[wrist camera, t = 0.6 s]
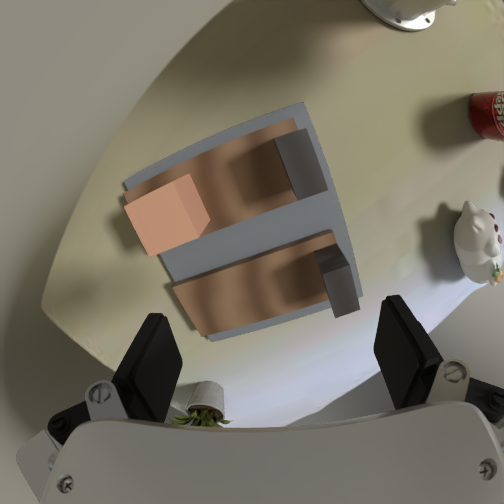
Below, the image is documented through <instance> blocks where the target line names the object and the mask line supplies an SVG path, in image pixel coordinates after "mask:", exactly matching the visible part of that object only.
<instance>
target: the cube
mask: <svg viewBox="0 0 504 504" xmlns="http://www.w3.org/2000/svg"><path fill="white" fill-rule="evenodd" d="M124 208H125V210H126V212H127V214H128V216H129V218H130V221H131V223H132V225H133V227H134V229H135V231H136V232H137V234H138V236H139V238H140V240H141V242H142V244H143V246H144V248H145V250H146V252H147V254H148V255H149V257H152V256H155V255H157V254H160V253H162V252H164V251H167V250H169V249H172V248H174V247H177V246H179V245H182V244H184V243H187V242H189V241H192V240H194V239H197V238H199V237H200V235H201V234H202V232H203V230H204V229H205V227H206V226H207V224H208V223H209V221H210V218H209V216H208V214H207V211H206V209H205V207H204V205H203V203H202V200H201V198H200V196H199V194H198V192H197V189H196V187H195V185H194V183H193V180H192V178H191V176H190V174H187V175H184V176H182V177H180V178H178V179H176V180H174V181H172V182H170V183H168V184H166V185H164V186H162V187H160V188H158V189H156V190H154V191H152V192H150V193H148V194H146V195H144V196H142V197H140V198H138V199H137V200H135V201H133V202H131V203H129V204H127V205H126V206H124Z"/></svg>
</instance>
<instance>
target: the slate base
mask: <svg viewBox="0 0 504 504" xmlns="http://www.w3.org/2000/svg"><path fill="white" fill-rule="evenodd" d="M290 118H294V121H295V123H296V126H297V128H298V130H300V129H304V128H306V129H307V131H308V134H309V136H310V139H311V142H312V144H313V147H314V150H315V152H316V155H317V158H318V161H319V164H320V166H321V169H322V172H323V175H324V178H325V181H326V184H327V187H328V191H325V192H322V193H319V194H316V195H313V196H310V197H307V198H305V199H302V200H299V201H296V202H293V203H290V204H288V205H285V206H282V207H279V208H276V209H274V210H271V211H268V212H265V213H263V214H260V215H257V216H255V217H252V218H249V219H247V220H244V221H241V222H239V223H236V224H233V225H231V226H228V227H225V228H223V229H220V230H218V231H215V232H212V233H210V234H207V235H205V236H202V237H199V238H197V239H194V240H192V241H189V242H187V243H184V244H182V245H179V246H177V247H174V248H172V249H169V250H167V251H164V252H162V253H160V256H161V258H162V260H163V261H164V263H165V265H166V267H167V269H168V271H169V272H170V274H171V276H172V278H173V280H174V281H175V283H176V282H179V281H182V280H185V279H188V278H191V277H194V276H197V275H200V274H203V273H205V272H208V271H211V270H214V269H217V268H220V267H223V266H226V265H229V264H232V263H234V262H237V261H240V260H243V259H246V258H249V257H252V256H255V255H258V254H260V253H263V252H266V251H269V250H272V249H275V248H278V247H281V246H283V245H286V244H289V243H292V242H295V241H298V240H301V239H303V238H306V237H309V236H312V235H315V234H318V233H321V232H323V231H326V230H329V229H332V231H333V232H334V236H335V239H336V243H337V244H338V246H339V248H340V249H341V251H342V253H343V254H344V256H345V257H346V259H347V261H348V262H349V264H350V267H351V271H352V275H353V280H354V284H355V288H356V293H357V297H358V298H359V297H362V296H363V293H362V288H361V284H360V279H359V274H358V270H357V266H356V262H355V257H354V253H353V249H352V245H351V242H350V238H349V234H348V230H347V227H346V223H345V220H344V216H343V213H342V209H341V206H340V202H339V199H338V196H337V193H336V189H335V186H334V183H333V180H332V177H331V174H330V171H329V168H328V165H327V162H326V159H325V156H324V154H323V151H322V148H321V145H320V143H319V140H318V137H317V135H316V132H315V129H314V127H313V124H312V122H311V119H310V117H309V114H308V112H307V109H306V107H305V104H304V102H301V103H297V104H294V105H291V106H288V107H285V108H282V109H279V110H276V111H273V112H271V113H268V114H265V115H262V116H260V117H257V118H254V119H252V120H249V121H246V122H244V123H241V124H239V125H236V126H234V127H231V128H229V129H227V130H224V131H222V132H219V133H217V134H215V135H213V136H210V137H208V138H206V139H204V140H201V141H199V142H197V143H195V144H193V145H191V146H189V147H186V148H184V149H182V150H180V151H178V152H176V153H174V154H172V155H170V156H168V157H166V158H164V159H162V160H160V161H159V162H157V163H155V164H153V165H151V166H149V167H147V168H145V169H144V170H142V171H140V172H138V173H136V174H135V175H133V176H131V177H129V178H128V179H126V180H124V182H125V185H126V187H127V189H128V190H130V189H132V188H134V187H135V186H137V185H139V184H141V183H143V182H145V181H146V180H148V179H150V178H152V177H154V176H156V175H158V174H160V173H162V172H164V171H166V170H168V169H170V168H172V167H174V166H176V165H178V164H180V163H182V162H184V161H186V160H188V159H190V158H193V157H195V156H197V155H199V154H201V153H204V152H206V151H208V150H210V149H213V148H215V147H217V146H220V145H222V144H224V143H227V142H229V141H231V140H234V139H236V138H239V137H241V136H244V135H246V134H249V133H252V132H254V131H257V130H259V129H262V128H265V127H268V126H270V125H273V124H276V123H279V122H282V121H285V120H287V119H290ZM328 308H331V304H330V301H329V300H326V301H323V302H320V303H317V304H314V305H311V306H308V307H305V308H302V309H299V310H296V311H293V312H289V313H286V314H283V315H280V316H276V317H273V318H270V319H266V320H263V321H259V322H256V323H252V324H249V325H245V326H242V327H238V328H234V329H230V330H227V331H223V332H219V333H215V334H211V335H207V337H208V338H209V340H210V341H211V342H214V341H218V340H222V339H226V338H230V337H234V336H237V335H241V334H245V333H249V332H252V331H256V330H260V329H263V328H267V327H270V326H274V325H277V324H281V323H284V322H287V321H291V320H294V319H297V318H300V317H303V316H307V315H310V314H313V313H316V312H319V311H322V310H325V309H328Z"/></svg>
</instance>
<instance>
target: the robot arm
mask: <svg viewBox="0 0 504 504" xmlns="http://www.w3.org/2000/svg"><path fill="white" fill-rule="evenodd" d="M361 1H362V3H363V4H364V5H365V6H366V7H367V8H368V9H369V10H370V11H371V12H372V13H373V14H374V15H376V16H377V17H378V18H380V19H381V20H383V21H384V22H386V23H388V24H390V25H392V26H394V27H396V28H399V29H402V30H406V31H413V32H417V31H422V30H424V29H426V28H428V27H430V26H431V25H432V23H433V22H434V19H435V10H436V9H438V8H440V7H442V6H443V5H452V6H455V5H456V0H361ZM374 354H375V356H376V359H377V361H378V364H379V366H380V369H381V372H382V374H383V377H384V379H385V382H386V385H387V387H388V390H389V393H390V396H391V398H392V401H393V404H394V407H395V409H396V410H394V411H390V412H385V413H380V414H375V415H370V416H365V417H360V418H355V419H349V420H342V421H336V422H328V423H320V424H311V425H301V426H289V427H269V428H220V427H201V426H187V425H178V424H168V423H164V421H165V418H166V415H167V412H168V409H169V406H170V402H171V399H172V396H173V393H174V390H175V387H176V384H177V381H178V378H179V375H180V371H181V368H182V358H181V355H180V352H179V350H178V347H177V344H176V342H175V339H174V336H173V333H172V330H171V327H170V324H169V322H168V319H167V317H166V316H164V315H163V314H162V313H149V314H148V316H147V318H146V319H145V321H144V323H143V324H142V326H141V328H140V330H139V331H138V333H137V335H136V336H135V338H134V340H133V342H132V344H131V345H130V347H129V349H128V351H127V352H126V354H125V356H124V358H123V360H122V361H121V363H120V365H119V367H118V369H117V371H116V373H115V374H114V376H113V379H112V381H111V382H110V381H106V380H104V381H98V382H96V383H94V384H92V385H91V386H90V387H89V388H88V390H87V391H86V394H85V399H86V401H84V402H82V403H80V404H77V405H75V406H73V407H71V408H69V409H66V410H64V411H62V412H60V413H57V414H56V415H54V416H53V417H52V418H51V419H50V421H49V423H48V430H47V431H45V430H42V431H41V432H40V433H39V434H37V435H36V436H35V437H34V438H32V439H31V440H30V441H29V442H27V443H26V444H25V445H23V446H22V447H21V448H20V449H19V450H18V451H17V454H16V461H17V464H18V465H19V468H20V469H21V471H22V473H23V475H24V477H25V479H26V480H27V482H28V484H29V486H30V488H31V489H32V491H33V493H34V494H35V496H36V497H37V499H38V501H39V502H40V504H504V389H502V388H500V387H497V386H494V385H491V384H488V383H485V382H482V381H479V380H476V379H474V378H471V377H470V370H469V368H468V366H467V365H466V364H465V363H464V362H462V361H460V360H458V359H447V360H445V361H444V360H443V358H442V357H441V355H440V353H439V352H438V350H437V348H436V347H435V345H434V343H433V342H432V340H431V339H430V337H429V336H428V334H427V333H426V331H425V329H424V328H423V326H422V325H421V323H420V322H419V321H417V319H416V318H415V316H414V315H413V313H412V312H411V310H410V309H409V308H408V306H407V305H406V303H405V302H404V300H403V299H402V298H401V296H400V295H392V296H387V297H386V299H385V300H383V301H382V304H381V311H380V316H379V322H378V327H377V333H376V338H375V342H374Z"/></svg>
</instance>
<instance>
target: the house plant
mask: <svg viewBox="0 0 504 504" xmlns="http://www.w3.org/2000/svg"><path fill="white" fill-rule="evenodd" d="M186 413H187V414H188V416H176V415H174V417H175V418H176V419H178V420H183V421H173V420H170V421H171V423H172V424H178V425H185V424H187V423H189V422H190V421H191V420H192V419H194V421H193V423H192V424H191V425H190V426H196V425H197V426H201V427H220V428H224V427H222V426H220V425H219V424H217V423H220V422H221V423H223V424H228V423H230V422H231V421H227V420H224V418H225V411H224V392H223V388H222V387H221V386H220V385H219V384H217V383H215V382H211V381H204V382H200V383H199V384H198V385H197V387H196V389H195V391H194V393H193V395H192V397H191V399H190V401H189V403H188V405H187V407H186ZM184 420H185V421H184ZM232 421H233V420H232ZM197 423H198V424H197Z"/></svg>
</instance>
